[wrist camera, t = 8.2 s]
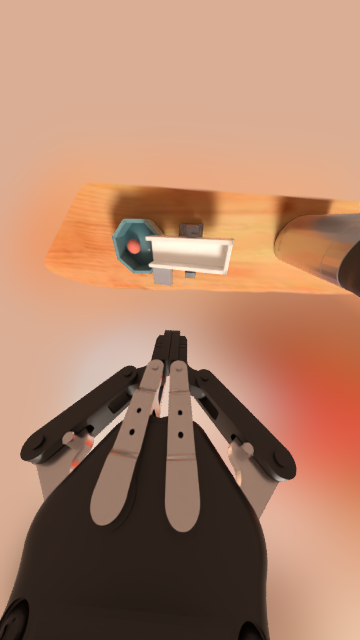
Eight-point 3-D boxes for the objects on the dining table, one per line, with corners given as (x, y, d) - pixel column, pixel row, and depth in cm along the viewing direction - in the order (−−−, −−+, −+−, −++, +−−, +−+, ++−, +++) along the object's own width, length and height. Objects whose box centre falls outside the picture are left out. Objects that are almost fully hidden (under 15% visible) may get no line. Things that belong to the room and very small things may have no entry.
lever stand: (202, 224, 30) (208, 226, 22) (199, 264, 35) (202, 278, 27) (180, 223, 30) (177, 225, 22) (179, 264, 36) (177, 278, 27)
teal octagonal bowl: (164, 219, 30) (160, 219, 26) (167, 267, 36) (164, 273, 32) (119, 218, 30) (107, 218, 26) (128, 266, 36) (120, 272, 32)
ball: (125, 239, 29) (126, 238, 31) (128, 255, 31) (128, 252, 33) (139, 239, 30) (139, 237, 32) (142, 254, 32) (141, 252, 34)
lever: (233, 236, 25) (233, 240, 21) (223, 284, 31) (222, 295, 26) (158, 233, 29) (145, 236, 24) (161, 277, 34) (151, 285, 30)
